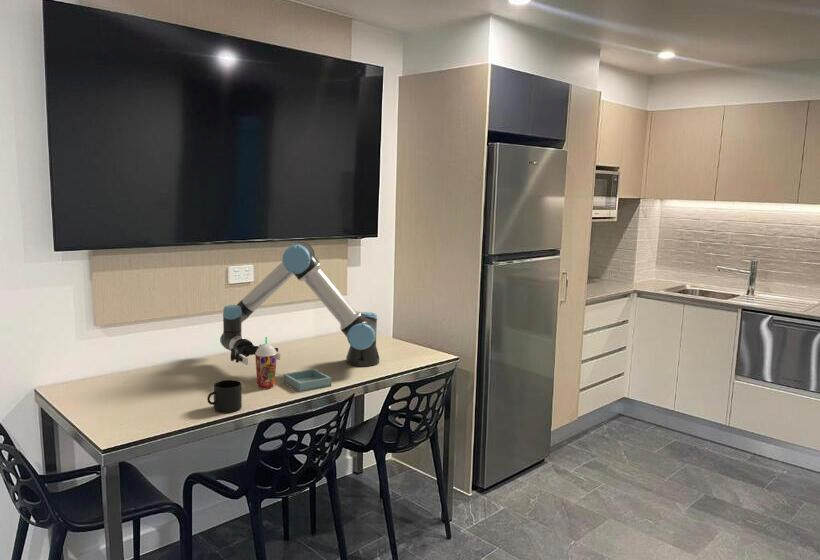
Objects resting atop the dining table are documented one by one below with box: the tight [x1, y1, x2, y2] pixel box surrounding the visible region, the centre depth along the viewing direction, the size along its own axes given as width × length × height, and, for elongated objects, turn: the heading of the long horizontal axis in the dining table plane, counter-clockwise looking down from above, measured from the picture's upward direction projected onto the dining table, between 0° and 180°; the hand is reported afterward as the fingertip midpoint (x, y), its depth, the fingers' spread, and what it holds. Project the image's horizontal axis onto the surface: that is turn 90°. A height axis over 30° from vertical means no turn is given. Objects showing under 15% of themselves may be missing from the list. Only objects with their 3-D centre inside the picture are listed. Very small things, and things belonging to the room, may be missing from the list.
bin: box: [282, 368, 332, 393], centre depth 250 cm, size 14×14×4 cm
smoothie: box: [255, 336, 277, 389], centre depth 244 cm, size 8×8×20 cm
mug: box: [206, 379, 243, 414], centre depth 219 cm, size 9×12×9 cm
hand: (263, 359), depth 245 cm, fingers open, 13 cm apart
